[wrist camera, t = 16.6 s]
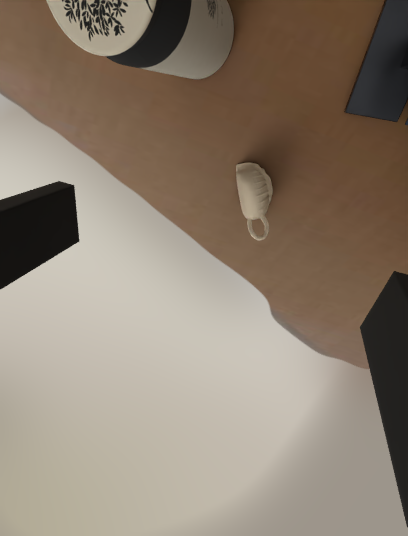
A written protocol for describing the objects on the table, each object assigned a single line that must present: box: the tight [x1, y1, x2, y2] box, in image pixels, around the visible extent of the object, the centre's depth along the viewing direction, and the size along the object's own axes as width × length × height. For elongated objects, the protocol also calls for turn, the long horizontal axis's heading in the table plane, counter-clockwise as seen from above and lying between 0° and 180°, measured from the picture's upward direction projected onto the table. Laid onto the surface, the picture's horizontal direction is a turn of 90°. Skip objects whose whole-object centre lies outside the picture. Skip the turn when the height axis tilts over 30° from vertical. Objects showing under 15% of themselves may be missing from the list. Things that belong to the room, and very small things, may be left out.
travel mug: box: [47, 0, 234, 79], centre depth 23 cm, size 8×8×18 cm
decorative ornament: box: [236, 162, 273, 240], centre depth 35 cm, size 4×8×5 cm, turn 12°
